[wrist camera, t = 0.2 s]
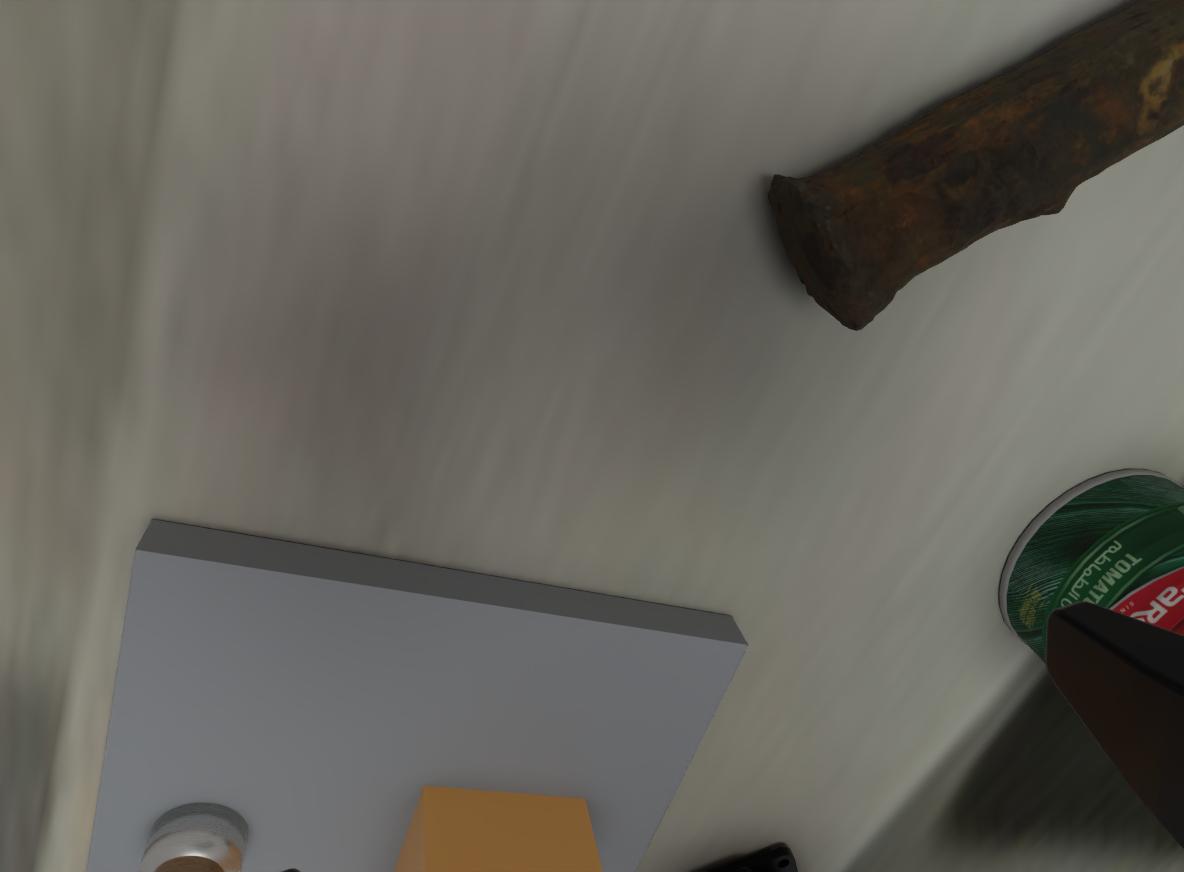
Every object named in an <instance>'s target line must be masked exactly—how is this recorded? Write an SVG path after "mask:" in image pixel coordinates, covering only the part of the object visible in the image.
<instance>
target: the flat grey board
mask: <svg viewBox="0 0 1184 872" xmlns="http://www.w3.org/2000/svg"><path fill="white" fill-rule="evenodd" d="M747 646H748V644H747V642H746V640H745V639H744V637H743V635H742V633H741V632H740V630H739V628H738V626H737V625H736V623H735V621H734V619H733V617H732V616H728V615H722V614H716V613H710V612H704V611H698V610H692V609H686V608H680V607H674V606H668V605H662V604H656V603H650V602H644V601H638V600H632V599H626V598H620V597H614V596H608V595H602V594H596V593H590V592H584V591H578V590H572V589H566V588H560V587H554V586H548V585H542V584H536V583H530V582H524V581H518V580H513V579H507V578H501V577H495V576H489V575H483V574H477V573H471V572H465V571H459V570H453V569H447V568H441V567H435V566H429V565H423V564H417V563H411V562H405V561H399V560H393V559H387V558H381V557H375V556H369V555H363V554H357V553H351V552H345V551H339V550H333V549H327V548H321V547H315V546H309V545H303V544H297V543H291V542H285V541H279V540H273V539H267V538H261V537H255V536H249V535H243V534H237V533H231V532H225V531H219V530H214V529H208V528H202V527H196V526H190V525H184V524H178V523H172V522H166V521H160V520H154V519H152V520H151V522H150V524H149V526H148V528H147V530H146V531H145V533H144V535H143V537H142V539H141V541H140V542H139V544H138V546H137V548H136V550H135V556H134V563H133V570H132V576H131V583H130V589H129V596H128V602H127V609H126V615H125V622H124V629H123V635H122V642H121V648H120V655H119V661H118V668H117V674H116V681H115V688H114V694H113V701H112V707H111V714H110V720H109V727H108V734H107V740H106V747H105V753H104V760H103V766H102V773H101V779H100V786H99V793H98V799H97V806H96V812H95V819H94V825H93V832H92V838H91V845H90V852H89V858H88V865H87V871H86V872H138V869H139V866H140V863H141V860H142V857H143V854H144V851H145V848H146V845H147V842H148V838H149V835H150V832H151V830H152V827H153V825H154V823H155V822H156V821H157V820H158V818H160V817H161V816H162V815H163V814H164V813H166V812H168V811H169V810H171V809H173V808H176V807H178V806H182V805H185V804H190V803H202V802H204V803H215V804H219V805H223V806H226V807H228V808H231V809H233V810H234V811H236V812H237V813H239V814H240V815H241V816H242V817H243V818H244V820H245V821H246V823H247V825H248V828H249V837H248V842H247V847H246V852H245V857H244V862H243V867H242V872H281V871H284V870H287V869H290V868H295V869H298V870H299V871H300V872H394V870H395V867H396V864H397V861H398V858H399V855H400V852H401V849H402V846H403V843H404V841H405V838H406V835H407V832H408V829H409V826H410V823H411V820H412V817H413V815H414V812H415V809H416V806H417V803H418V800H419V797H420V794H421V791H422V788H423V786H434V787H447V788H459V789H472V790H484V791H497V792H509V793H522V794H534V795H547V796H560V797H572V798H585V800H586V804H587V808H588V812H589V817H590V821H591V825H592V829H593V834H594V838H595V842H596V846H597V850H598V855H599V859H600V863H601V867H602V872H636V870H637V868H638V866H639V864H640V862H641V860H642V858H643V856H644V854H645V852H646V850H647V848H648V846H649V844H650V842H651V840H652V838H653V836H654V834H655V832H656V829H657V827H658V825H659V823H660V821H661V819H662V817H663V815H664V813H665V811H666V809H667V807H668V805H669V803H670V801H671V799H672V797H673V795H674V793H675V791H676V789H677V787H678V785H679V783H680V781H681V779H682V777H683V775H684V773H685V771H686V769H687V767H688V765H689V763H690V761H691V759H692V757H693V755H694V753H695V751H696V749H697V747H698V745H699V743H700V741H701V739H702V737H703V735H704V733H705V731H706V729H707V727H708V725H709V723H710V721H711V719H712V717H713V715H714V713H715V711H716V709H717V707H718V705H719V703H720V701H721V699H722V697H723V695H724V693H725V691H726V689H727V687H728V685H729V683H730V681H731V679H732V676H733V674H734V672H735V670H736V668H737V666H738V664H739V662H740V660H741V658H742V656H743V654H744V652H745V650H746V648H747Z"/></svg>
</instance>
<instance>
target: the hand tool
mask: <svg viewBox="0 0 1184 872" xmlns="http://www.w3.org/2000/svg"><path fill="white" fill-rule="evenodd" d="M1183 125H1184V0H1141V1H1139V2H1138V3H1136V4H1134V5H1132V6H1130V7H1128V8H1127V9H1125V10H1123V11H1121V12H1119V13H1118V14H1116V15H1114V16H1112V17H1110V18H1108V19H1106V20H1103V21H1101V22H1099V23H1096V24H1094V25H1092V26H1090V27H1088V28H1085V29H1083V30H1081V31H1079V32H1077V33H1076V34H1074V35H1072V36H1070V37H1069V38H1067V39H1066V40H1064V41H1063V42H1062V43H1060V44H1059V45H1058V46H1056V47H1054V48H1053V49H1051V50H1050V51H1048V52H1046V53H1045V54H1043V55H1041V56H1039V57H1037V58H1035V59H1033V60H1031V61H1029V62H1027V63H1025V64H1023V65H1021V66H1019V67H1018V68H1016V69H1014V70H1013V71H1011V72H1009V73H1007V74H1005V75H1002V76H999V77H997V78H994V79H991V80H990V81H988V82H987V83H985V84H984V85H982V86H980V87H977V88H975V89H973V90H971V91H969V92H967V93H965V94H963V95H960V96H958V97H956V98H954V99H952V100H950V101H948V102H946V103H944V104H942V105H940V106H938V107H935V108H934V109H933V110H931V111H930V112H929V113H928V114H927V115H926V116H924V117H923V118H922V119H921V120H919V121H917V122H915V123H913V124H911V125H909V126H907V127H905V128H903V129H902V130H901V131H899V132H898V133H897V134H895V135H894V136H893V137H891V138H889V139H887V140H885V141H883V142H882V143H880V144H878V145H876V146H874V147H872V148H870V149H869V150H867V151H865V152H864V153H862V154H860V155H859V156H857V157H855V158H854V159H852V160H850V161H847V162H845V163H843V164H841V165H839V166H837V167H835V168H833V169H831V170H829V171H827V172H825V173H823V174H821V175H818V176H813V177H809V178H804V179H799V180H797V179H794V178H791V177H784V176H781V175H776V174H775V175H774V178H773V180H772V183H771V189H770V191H769V194H768V197H769V201H770V205H771V207H772V210H773V212H774V214H775V217H776V221H777V225H778V231H779V235H780V238H781V241H782V244H783V246H784V249H785V251H786V254H787V256H788V258H789V260H790V262H791V264H792V265H793V267H794V269H795V271H796V273H797V275H798V276H799V278H800V280H801V282H802V283H803V284H805V286H806V290H807V293H808V295H810V296H812V297H813V298H814V299H815V301H816V302H817V303H818V304H819V305H820V306H821V307H822V308H824V309H825V310H826V311H827V312H829V313H830V314H831V315H832V316H833V317H835V318H836V319H837V320H838V321H840V323H841V324H842V325H843V326H845V327H847V328H849V329H851V330H856V331H857V330H861V329H863V328H864V327H865V326H866V325H867V324H868V323H870V322H871V321H872V320H873V319H874V317H875V316H876V315H877V314H878V313H880V312H881V311H882V310H884V309H885V308H886V306H887V305H888V304H889V303H890V302H891V301H892V300H893V298H894V296H895V294H896V292H897V291H898V290H900V289H901V288H903V287H904V286H905V285H906V284H907V283H908V282H909V281H910V280H911V279H913V278H914V277H915V276H917V275H918V274H920V273H922V272H924V271H926V270H927V269H929V268H931V267H933V266H935V265H937V264H939V263H941V262H943V261H944V260H946V259H948V258H949V257H951V256H952V255H954V254H957V253H958V252H960V251H962V250H963V249H965V248H967V247H968V246H969V245H971V244H972V243H974V242H975V241H977V240H979V239H981V238H982V237H984V236H986V235H988V234H990V233H992V232H994V231H996V230H998V229H1001V228H1004V227H1007V226H1010V225H1013V224H1016V223H1018V222H1020V221H1023V220H1027V219H1031V218H1035V217H1038V216H1040V215H1050V214H1056V213H1059V212H1060V211H1061V210H1062V209H1063V208H1064V206H1065V204H1066V202H1067V200H1068V198H1069V197H1070V195H1071V194H1072V192H1073V191H1074V189H1075V188H1076V187H1077V186H1078V185H1079V184H1081V183H1082V182H1084V181H1086V180H1088V179H1090V178H1092V177H1094V176H1096V175H1098V174H1099V173H1101V172H1102V171H1104V170H1105V169H1106V168H1108V167H1110V166H1112V165H1113V164H1115V163H1117V162H1119V161H1121V160H1123V159H1124V158H1126V157H1128V156H1129V155H1131V154H1133V153H1134V152H1136V151H1138V150H1140V149H1142V148H1144V147H1145V146H1147V145H1149V144H1151V143H1153V142H1155V141H1157V140H1159V139H1161V138H1163V137H1164V136H1166V135H1168V134H1169V133H1171V132H1173V131H1174V130H1176V129H1178V128H1179V127H1181V126H1183Z"/></svg>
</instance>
